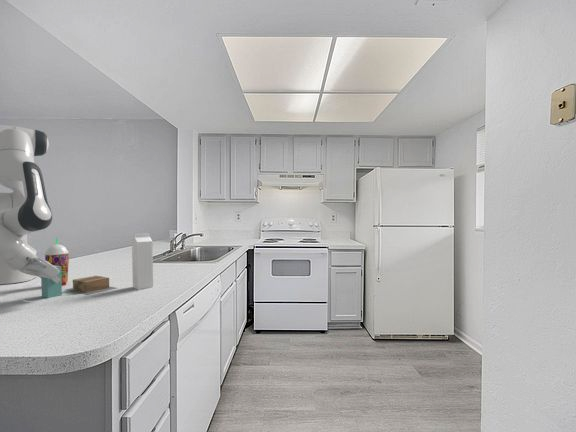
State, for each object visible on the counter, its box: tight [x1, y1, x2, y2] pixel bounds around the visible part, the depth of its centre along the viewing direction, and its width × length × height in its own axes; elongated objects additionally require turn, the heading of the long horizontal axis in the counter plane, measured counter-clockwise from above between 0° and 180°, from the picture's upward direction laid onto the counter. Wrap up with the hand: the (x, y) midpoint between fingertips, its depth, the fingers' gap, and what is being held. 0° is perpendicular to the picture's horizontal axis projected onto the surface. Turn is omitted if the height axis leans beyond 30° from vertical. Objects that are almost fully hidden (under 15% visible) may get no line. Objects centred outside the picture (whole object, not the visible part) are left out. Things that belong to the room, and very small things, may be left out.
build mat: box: [64, 285, 118, 296], centre depth 131 cm, size 16×12×1 cm
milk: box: [131, 232, 154, 290], centre depth 134 cm, size 6×6×22 cm
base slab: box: [72, 275, 110, 293], centre depth 131 cm, size 9×9×4 cm
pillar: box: [40, 265, 63, 299], centre depth 121 cm, size 4×4×11 cm
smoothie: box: [44, 237, 70, 287], centre depth 138 cm, size 8×8×20 cm
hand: (53, 280), depth 121 cm, fingers open, 5 cm apart
